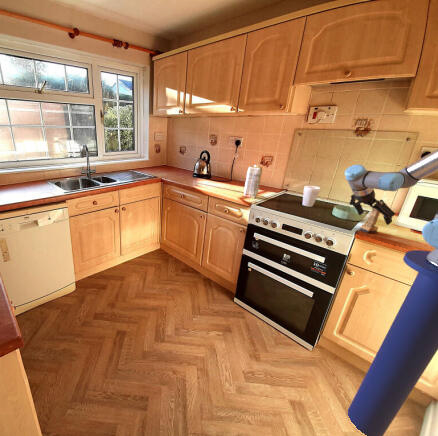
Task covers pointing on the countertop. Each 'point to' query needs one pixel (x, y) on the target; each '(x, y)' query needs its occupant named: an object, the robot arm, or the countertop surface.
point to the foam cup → (310, 195)
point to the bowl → (347, 213)
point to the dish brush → (371, 222)
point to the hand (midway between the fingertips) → (374, 217)
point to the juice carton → (252, 181)
